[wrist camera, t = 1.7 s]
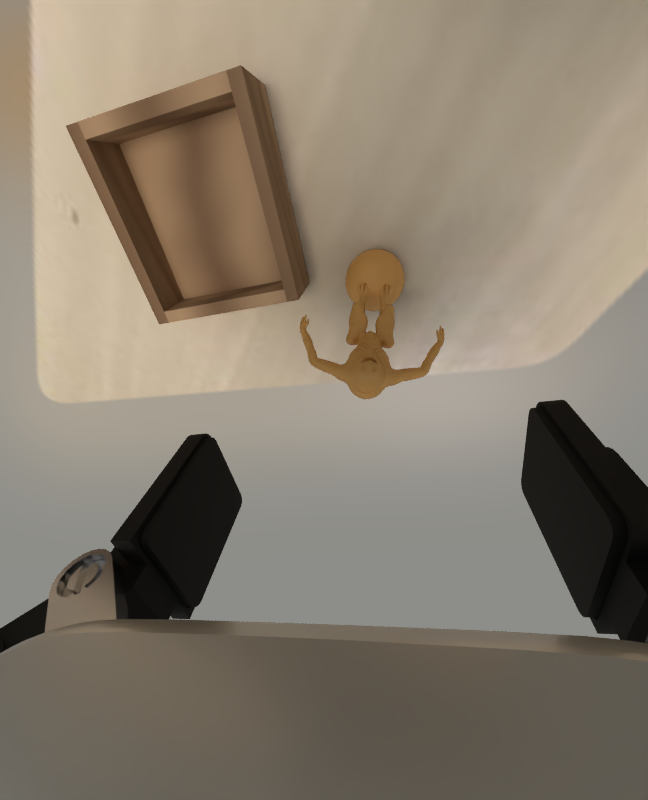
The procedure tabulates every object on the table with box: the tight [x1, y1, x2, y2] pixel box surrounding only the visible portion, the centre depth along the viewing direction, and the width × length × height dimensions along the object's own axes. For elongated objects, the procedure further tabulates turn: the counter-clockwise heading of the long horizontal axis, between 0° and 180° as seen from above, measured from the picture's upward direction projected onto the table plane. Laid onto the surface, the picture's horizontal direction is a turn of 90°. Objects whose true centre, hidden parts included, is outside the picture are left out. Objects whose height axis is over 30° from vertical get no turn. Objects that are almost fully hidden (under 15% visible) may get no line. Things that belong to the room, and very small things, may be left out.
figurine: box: [300, 249, 444, 399], centre depth 21 cm, size 8×6×12 cm
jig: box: [66, 66, 309, 324], centre depth 23 cm, size 11×12×4 cm
